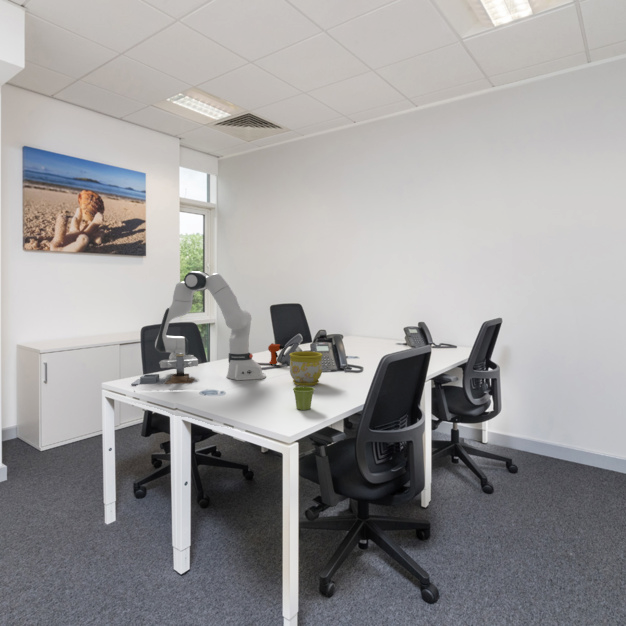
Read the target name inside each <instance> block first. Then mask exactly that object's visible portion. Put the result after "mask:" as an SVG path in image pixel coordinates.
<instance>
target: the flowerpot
mask: <svg viewBox="0 0 626 626" xmlns="http://www.w3.org/2000/svg"><path fill="white" fill-rule="evenodd" d="M289 357H290V362H289V373H290V377H291V378H292V379H293V380H292V382H293V383H294V385H296V386H298V387H313V386H317V385H318V383H319V382H320V381H319V380H320V378H321V377H322V372H323V362H322V361H323V359H322V357H323V352H322V353H321V352H318V351H305V350H303V351H294V352H290V353H289Z"/></svg>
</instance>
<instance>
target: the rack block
mask: <svg viewBox="0 0 626 626" xmlns="http://www.w3.org/2000/svg"><path fill="white" fill-rule="evenodd" d="M167 381H168V378H160V374H159V373H154V374H153V373H151V374H149V373H148V374H147V373H146V374H145V373H144V374H142V376H140V377H139V378H137V379H136V380H134V381H133V382H132V383H130V384H131V385H137V386H139V385H143V384H144V385H146V384H147V385H148V384H152V385H153V384H154V385H155V384H162V385H163V384H165V383H166V382H167ZM131 385H130V386H131Z"/></svg>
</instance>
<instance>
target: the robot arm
mask: <svg viewBox="0 0 626 626" xmlns="http://www.w3.org/2000/svg"><path fill="white" fill-rule="evenodd" d="M206 290H208V291H209V293H210V294H211V296H212V298H213V299H214V300H215V302H216V304H217V306H218V307H219V309H220V311H221V314H222V316H223V318H224V321H225V325H226V326H227V328H229V329H230V330H231V332H230V337H229V340H228V341H229V343H228V345H229V346H228V347H229V350H228V352H229V353H228V355H227V357H228V358H227V359H228V368H227V369H228V370H227V374H226V378H227V379H230V380H235V381H247V380H249V381H250V380H262V379H265V378H266V377H267V376H266V373H264V372H263V370H262V369H263V368H262V366H261V364H259V363H258V362H256V361H255V360H254V359H253V357H254V356H253V354H252V353H251V352H249V351H250V350H249V349H250V347H249V340H250V332H251V321H252V314H250V312H249V311H247V310H246V309H242V308H241V306H240V304H239V302H238V300H237V299H238V298H237V296H236V294H234V292H233V290H232V289H231V287H230V285H229V284H228V282H227V281H226V280H225V279H224V277H223V276H222V275H221V274H220V273H217V272H215V273H212V274H208V273H206V272H204V271H199V270H198V271H196V270H195V271H190V272H188V273H187V274H185V276H184V278H183V281H179V282H177V283H176V284H175V287H174V291H173V295H172V303H171V305H170V306H169V307H167V308H166V309H165V311H164V313H163V317H162V321H161V323H160V327H159V330H158V335H157V337H156V339H155V342H154V349H155V350H156V351H157V352H159V353H161V354H163V353H170V354H169V357H168V359H162V360H160V361H159V362H158V364H159V367H160V368H161V369H169V368H170V369H171V368H173V369H175V370H176V353H184V369H185V368H191V367H198V366H199V359H198V358H197V357H196V356H194V354H188V353H189V348H190V345H189V340H188V338H187V337H185V336H181V335H167V332H168V328H169V325H170V322H171V321H172V320H174V319H176V318H177V319H178V318H180V317H183V316H186V315H188V314H189V313H190V312H191V310H192V308H193V307H192V306H193V299H194V298H193V297H194V293H196V292H201V291H206Z"/></svg>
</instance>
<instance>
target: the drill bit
mask: <svg viewBox="0 0 626 626" xmlns="http://www.w3.org/2000/svg"><path fill="white" fill-rule="evenodd" d="M175 371H176V372H175V374H176V375H177V376H184V374H185V368H184V353H176V369H175Z"/></svg>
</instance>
